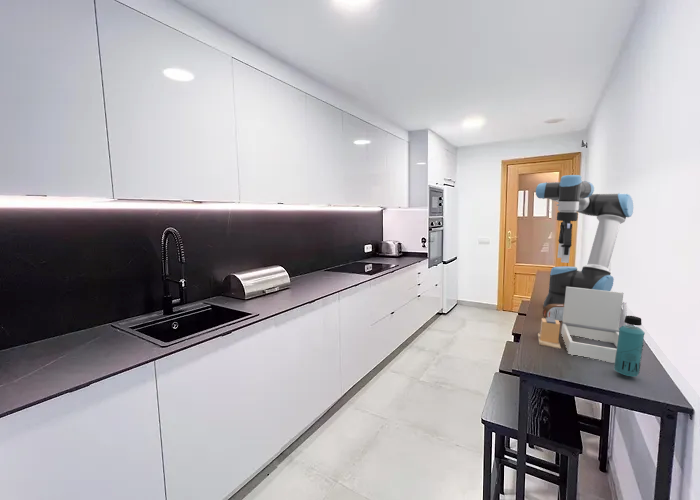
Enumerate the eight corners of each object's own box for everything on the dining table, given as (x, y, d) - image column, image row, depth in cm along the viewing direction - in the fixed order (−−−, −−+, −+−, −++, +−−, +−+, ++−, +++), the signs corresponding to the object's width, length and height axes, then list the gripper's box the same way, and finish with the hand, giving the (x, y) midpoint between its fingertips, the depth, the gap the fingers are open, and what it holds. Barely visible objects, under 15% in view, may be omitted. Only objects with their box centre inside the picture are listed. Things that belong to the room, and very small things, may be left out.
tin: (569, 319, 160) (571, 303, 159) (574, 322, 157) (576, 305, 156) (541, 320, 159) (542, 303, 157) (545, 322, 155) (547, 305, 154)
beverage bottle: (617, 378, 105) (625, 318, 102) (609, 369, 111) (616, 312, 108) (642, 383, 102) (651, 321, 100) (633, 373, 108) (641, 315, 106)
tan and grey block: (539, 336, 138) (541, 316, 136) (556, 339, 135) (558, 319, 134) (540, 340, 133) (542, 320, 132) (558, 343, 130) (560, 323, 129)
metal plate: (537, 333, 142) (537, 332, 142) (557, 336, 139) (557, 335, 139) (539, 345, 129) (539, 344, 129) (560, 349, 126) (561, 348, 126)
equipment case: (561, 333, 142) (566, 286, 139) (620, 343, 133) (627, 292, 130) (568, 354, 121) (574, 299, 119) (639, 367, 112) (648, 308, 109)
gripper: (554, 211, 154) (550, 255, 157) (560, 212, 132) (555, 263, 135) (573, 211, 151) (568, 256, 154) (583, 212, 129) (577, 265, 132)
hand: (562, 260), depth 145 cm, fingers open, 13 cm apart
